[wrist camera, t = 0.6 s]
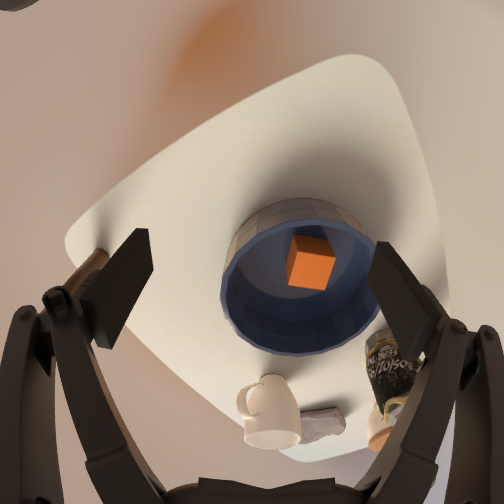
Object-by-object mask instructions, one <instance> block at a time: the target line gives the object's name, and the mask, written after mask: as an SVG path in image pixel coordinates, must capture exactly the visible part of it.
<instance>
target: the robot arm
mask: <svg viewBox="0 0 504 504" xmlns="http://www.w3.org/2000/svg"><path fill="white" fill-rule="evenodd" d="M153 270H154V269H153V262H152V255H151V248H150V240H149V232H148V229H144V228H136V229H135V230H134V231H133V232H132V233H131V235H130V236H129V237H128V238H127V239H126V240H125V242H124V243H123V244H122V245H121V246H120V247H119V249H118V250H117V251H116V252H115V253H114V255H113V256H112V257H111V258H110V259H109V261H108V262H107V263H106V264H105V266H104V267H103V268H102V269H96V270H95V271H93V272H92V273H90V274H89V275H88V276H87V278H86V279H85V280H84V282H82V284H81V285H80V287H79V288H78V289H77V290H76V291H75V293H74V294H73V295H72V296H71V295H70V292H69V290H68V288H67V287H65V286H56V287H53V288H51V289H49V290H48V291H46V292H45V294H44V295H43V297H42V301H43V303H44V305H45V308H46V310H47V313H41V314H38V313H37V311H36V309H35V307H34V306H32V305H26V306H22V307H21V308H19V309H18V310H17V311H16V312H15V314H14V315H13V318H12V322H11V325H10V328H9V332H8V336H7V340H6V343H5V347H4V352H3V356H2V360H1V365H0V504H64V497H63V490H62V483H61V477H60V471H59V464H58V455H57V445H56V430H55V368H56V361H57V366H58V370H59V374H60V378H61V382H62V386H63V390H64V393H65V397H66V400H67V403H68V407H69V410H70V413H71V416H72V419H73V422H74V425H75V428H76V431H77V434H78V436H79V439H80V441H81V444H82V447H83V449H84V452H85V454H86V457H87V461H86V462H85V465H86V469H87V472H88V474H89V476H90V478H91V481H92V483H93V485H94V486H95V489H96V491H97V493H98V495H99V496H100V498H101V500H102V502H103V504H423V502H424V500H425V498H426V496H427V494H428V492H429V490H430V488H431V486H432V484H433V481H434V479H435V477H436V474H437V471H438V465H437V464H435V459H436V456H437V454H438V451H439V449H440V446H441V443H442V440H443V438H444V435H445V432H446V429H447V425H448V422H449V419H450V416H451V413H452V409H453V406H454V402H455V403H456V405H455V427H454V440H453V451H452V459H451V466H450V473H449V479H448V484H447V490H446V495H445V501H444V504H504V354H503V350H502V346H501V342H500V338H499V335H498V333H497V332H496V331H495V329H494V328H492V327H491V326H488V325H482V326H481V327H480V328H479V330H478V332H471V331H468V329H467V328H466V326H465V325H464V324H463V323H462V322H461V321H459V320H457V319H450V317H449V316H448V314H447V313H446V311H445V310H444V308H443V307H442V305H441V304H440V303H439V301H438V300H437V298H435V295H434V294H433V293H432V291H431V290H430V289H429V288H427V287H426V286H425V285H421V284H420V283H419V281H418V280H417V278H416V277H415V276H414V274H413V273H412V272H411V270H410V269H409V268H408V266H407V265H406V264H405V262H404V261H403V260H402V259H401V257H400V256H399V255H398V253H397V252H396V251H395V250H394V248H393V247H392V246H391V245H390V243H389V242H382V241H377V244H376V248H375V252H374V255H373V259H372V263H371V266H370V270H369V273H368V277H367V280H366V281H367V283H368V285H369V287H370V289H371V291H372V293H373V295H374V297H375V299H376V301H377V303H378V305H379V307H380V309H381V311H382V313H383V315H384V317H385V319H386V321H387V323H388V326H389V328H390V330H391V332H392V334H393V336H394V339H395V341H396V343H397V345H398V348H399V350H400V352H401V354H402V357H403V359H404V361H411V360H417V359H418V358H419V356H420V355H421V353H422V351H423V352H424V354H425V356H426V357H425V359H424V360H423V362H422V363H421V365H420V366H419V368H418V369H417V371H416V372H417V373H418V375H417V377H416V380H415V382H414V384H413V387H412V389H411V391H410V394H409V396H408V398H407V400H406V403H405V405H404V407H403V409H402V411H401V413H400V415H399V417H398V419H397V421H396V423H395V425H394V427H393V429H392V431H391V433H390V435H389V436H388V438H387V440H386V442H385V444H384V445H383V447H382V449H381V451H380V452H379V454H378V456H377V457H376V459H375V461H374V462H373V464H372V465H371V467H370V469H369V470H368V472H367V473H366V474H365V476H364V477H363V478H362V479H361V480H360V481H359V482H358V483H357V485H356V486H355V487H354V488H352V487H349V486H345V485H341V484H335V478H327V479H318V480H304V481H300V482H296V483H293V484H289V485H285V486H281V487H277V488H273V489H263V488H259V487H255V486H251V485H247V484H243V483H239V482H235V481H231V480H219V479H209V478H200V477H199V481H198V483H192V484H186V485H183V486H179V487H176V488H174V489H172V490H170V491H168V492H167V491H166V489H165V488H164V487H163V485H162V484H161V482H160V481H159V480H158V478H157V477H156V476H155V475H154V473H153V472H152V470H151V469H150V467H149V466H148V464H147V462H146V461H145V459H144V457H143V456H142V454H141V452H140V451H139V449H138V447H137V445H136V444H135V442H134V440H133V438H132V437H131V435H130V433H129V431H128V429H127V427H126V425H125V423H124V421H123V419H122V417H121V415H120V413H119V411H118V409H117V407H116V405H115V403H114V400H113V398H112V396H111V394H110V392H109V389H108V387H107V385H106V382H105V380H104V377H103V375H102V373H101V370H100V368H99V365H98V362H97V360H96V357H95V355H94V352H93V349H92V347H91V342H92V340H93V338H94V339H95V342H96V344H97V346H98V347H101V348H106V349H111V350H112V348H113V346H114V344H115V342H116V340H117V338H118V336H119V334H120V332H121V330H122V328H123V326H124V324H125V322H126V320H127V318H128V316H129V314H130V312H131V311H132V309H133V307H134V305H135V303H136V301H137V299H138V297H139V295H140V294H141V292H142V290H143V288H144V286H145V285H146V283H147V281H148V279H149V277H150V276H151V274H152V272H153Z"/></svg>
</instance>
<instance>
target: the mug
mask: <svg viewBox="0 0 504 504" xmlns="http://www.w3.org/2000/svg"><path fill="white" fill-rule="evenodd" d="M252 387H256V388H255V390H254V392H253V394H252V396H251V398H250V400H249V402H248V405H247V406H246V394H247V392H248V390H249V389H250V388H252ZM236 404H237V410H238V413H239V415H240V416H241V417H242V418H243V419H245V425H244V440H245V442H246V443H247V444H248V445H249V446H251V447H254V448H258V449H263V450H279V449H285V448H289V447H292V446H294V445H296V444H297V443H299V442H300V440H301V437H302V431H301V419H300V411H299V407H298V404H297V401H296V399H295V397H294V395H293V394H292V392H291V390H290V388H289V386H288V385H287V383H286V381H285V379H284V378H283V377H282V376H280V375H276V374H269V375H265V376H263V377H262V378H260V380H259V382H258V383H255V384H252V385H249V386H246V387H245V388H243V389H242V390H240V392H239V393H238V395H237V402H236Z"/></svg>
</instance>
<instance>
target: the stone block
mask: <svg viewBox="0 0 504 504" xmlns="http://www.w3.org/2000/svg"><path fill="white" fill-rule="evenodd" d="M300 419H301V431H302V437H301V440H300V442H299V443H297V444H308V443H311V442H314V441H317V440H319V439H320V438H322V437H324V436H327V435H328V436H329V435H339V434H341V433H342V432H343V431H344V430H345V428H346V422H345V418H344V417H343V416H342V415H341V414H340V413H339V411H338V409H337V408H329V409H323V410H316V411H307V412H303V413H300Z"/></svg>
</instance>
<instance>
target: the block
mask: <svg viewBox="0 0 504 504" xmlns="http://www.w3.org/2000/svg"><path fill="white" fill-rule="evenodd" d="M335 260H336V256H335V254H334V252H333V250H332V247H331V245H330V243H329V241H328V240H326V239H320V238H315V237H309V236H303V235H298V234H293V237H292V241H291V245H290V249H289V253H288V257H287V261H286V264H285V266H286V273H287V280H288V285H291V286H298V287H305V288H312V289H320V290H325V288H326V285H327V282H328V280H329V277H330V274H331V271H332V268H333V265H334V263H335Z"/></svg>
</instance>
